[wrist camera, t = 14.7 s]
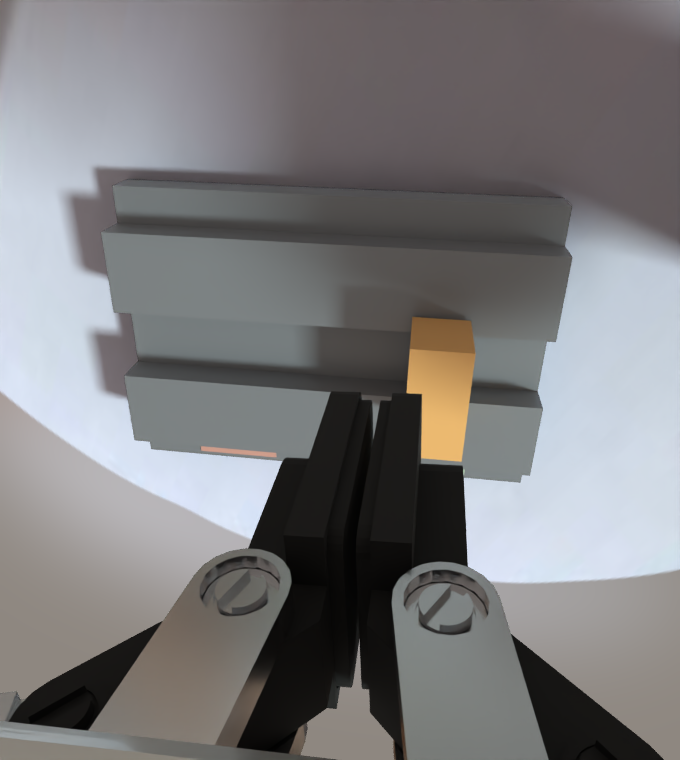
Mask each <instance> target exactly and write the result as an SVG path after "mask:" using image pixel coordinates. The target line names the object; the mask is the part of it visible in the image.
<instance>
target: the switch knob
mask: <svg viewBox="0 0 680 760" xmlns="http://www.w3.org/2000/svg"><path fill="white" fill-rule="evenodd" d="M475 355H476V353H475V346H474V339H473V332H472V324H471V321H468V320H452V319H437V318H421V317H412V328H411V341H410V354H409V367H408V380H407V393H410V394H422V434H421V458H425V459H436V460H447V461H459V462H462V455H463V447H464V439H465V432H466V424H467V416H468V409H469V401H470V393H471V386H472V378H473V370H474V363H475Z"/></svg>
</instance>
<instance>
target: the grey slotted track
mask: <svg viewBox="0 0 680 760" xmlns="http://www.w3.org/2000/svg"><path fill="white" fill-rule="evenodd" d="M112 188H113V195H114V202H115V208H116V215H117V222H118V223H117V224H115V225H113V226H112V227H110V228H108V229H106V230H104V231H102V232H101V236H102V242H103V248H104V255H105V261H106V267H107V273H108V279H109V285H110V292H111V298H112V304H113V310H114V312H115V313H129V314H131V316H132V323H133V330H134V336H135V343H136V350H137V357H138V362H137V363H136V364H135V365H134V366H133V367H132V368H131V369H130V370H129V371H128V373H127V374H126V375H125V376H124V378H125V384H126V390H127V397H128V403H129V409H130V415H131V421H132V427H133V434H134V440H138V441H149V442H150V444H151V449H156V450H167V451H178V452H189V453H200V454H211V455H222V456H233V457H244V458H255V459H266V460H277V461H283V460H284V459H285V458H287V457H289V458H309V456H310V453H311V450H312V447H313V444H314V441H315V438H316V435H317V432H318V429H319V426H320V423H321V420H322V417H323V414H324V411H325V408H326V405H327V402H328V399H329V396H330V393H331V391H342V392H361V395H362V400H372V404H373V439H374V434H375V428H376V423H377V417H378V412H379V406H380V401H381V400H387V401H391V398H392V393H407V380H408V367H409V354H410V341H411V328H412V317H421V318H437V319H452V320H468V321H471V324H472V332H473V339H474V346H475V353H476V355H475V363H474V370H473V378H472V386H471V393H470V401H469V409H468V416H467V424H466V432H465V439H464V447H463V455H462V462H459V461H447V460H436V459H425V458H421V464H442V465H462V466H463V476H464V478H475V479H486V480H497V481H508V482H519V483H520V482H521V477H522V475H529V476H530V472H531V467H532V462H533V457H534V452H535V447H536V441H537V436H538V431H539V426H540V421H541V416H542V411H543V408H542V404H541V401H540V398H539V395H538V386H539V381H540V375H541V370H542V365H543V359H544V354H545V349H546V343H547V342H556V339H557V334H558V328H559V323H560V318H561V313H562V308H563V303H564V298H565V292H566V287H567V282H568V277H569V272H570V267H571V262H572V256H571V255H570V253H569V252H568V250H567V249H566V247H565V242H566V236H567V231H568V226H569V220H570V215H571V210H572V206H571V205H570V203H569V202H568V201H567V200H566V199H565V198H552V197H529V196H505V195H482V194H459V193H436V192H413V191H389V190H366V189H343V188H320V187H297V186H274V185H250V184H227V183H204V182H181V181H158V180H134V179H127V180H125V181H123V182H120V183H118V184H116V185H113V186H112Z"/></svg>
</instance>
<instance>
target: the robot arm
mask: <svg viewBox="0 0 680 760" xmlns="http://www.w3.org/2000/svg"><path fill="white" fill-rule="evenodd" d="M421 434H422V394H410V393H392V398H391V401H387V400H381V401H380V406H379V412H378V417H377V423H376V428H375V434H374V439H373V404H372V400H362V395H361V392H342V391H331V393H330V396H329V399H328V402H327V405H326V408H325V411H324V414H323V417H322V420H321V423H320V426H319V429H318V432H317V435H316V438H315V441H314V444H313V447H312V450H311V453H310V456H309V458H289V457H287V458H285V459H284V460H283V462H282V464H281V466H280V469H279V472H278V474H277V477H276V479H275V482H274V484H273V487H272V489H271V492H270V494H269V497H268V499H267V502H266V505H265V507H264V510H263V512H262V515H261V517H260V520H259V522H258V525H257V527H256V530H255V533H254V535H253V538H252V540H251V543H250V546H249V548H248V549H247V548H246V549H240V550H233V551H229V552H226V553H224V554H221V555H219V556H216V557H215V558H213V559H212V560H210V561H209V562H207V563H205V564H204V565H203V566H202V567H201V568H200V569H199V570H198V572H197V573H196V574H195V575H194V576H193V578H192V579H191V581H190V582H189V584H188V585H187V586H186V588H185V589H184V591H183V592H182V594H181V595H180V597H179V598H178V600H177V601H176V603H175V604H174V606H173V607H172V609H171V610H170V611H169V613H168V614H167V616H166V617H165V619H164V620H163V621H162V622H160V623H158V624H156V625H154V626H152V627H150V628H148V629H147V630H144V631H143V632H141V633H139V634H137V635H135V636H133V637H131V638H129V639H128V640H126V641H124V642H122V643H120V644H118V645H117V646H115V647H113V648H111V649H109V650H107V651H105V652H103V653H101V654H100V655H98V656H96V657H94V658H92V659H90V660H88V661H86V662H84V663H82V664H81V665H79V666H77V667H75V668H73V669H71V670H69V671H67V672H66V673H64V674H62V675H60V676H58V677H56V678H54V679H52V680H50V681H49V682H47V683H46V684H44V685H43V686H41V687H40V688H38V689H37V690H35V691H34V692H33V693H32V694H31V695H29V696H28V697H27V698H26V699H20V698H19V695H18V693H17V691H15V692H6V693H0V760H335V759H326V758H318V757H310V756H302V755H301V752H302V749H303V746H304V743H305V740H306V735H307V730H308V727H307V722H308V721H309V720H311V719H312V718H314V717H315V716H316V715H318V714H319V713H321V712H322V711H323V710H325V709H326V708H333V709H336V708H337V703H338V696H339V690H340V687H352V685H353V679H354V672H355V664H356V658H357V651H358V645H359V638H360V656H361V657H360V658H361V680H362V688H363V689H369V695H370V713H371V714H372V715H373V716H374V717H375V719H376V720H377V721H378V722H379V723H380V724H381V725H382V727H383V728H384V729H385V730H386V731H387V732H388V734H389V735H390V736H391V737H392V738H393V753H394V760H664V759H663V758H662V757H661V756H660V755H659V754H658V753H657V752H656V751H655V750H654V749H653V748H652V747H651V746H650V745H649V744H647V743H646V742H645V741H644V740H642V739H641V738H640V737H639V736H637V735H636V734H635V733H634V732H632V731H631V730H630V729H629V728H627V727H626V726H625V725H623V724H622V723H621V722H620V721H619V720H617V719H616V718H615V717H614V716H612V715H611V714H610V713H609V712H607V711H606V710H605V709H603V708H602V707H601V706H600V705H599V704H598V703H596V702H595V701H594V700H593V699H591V698H590V697H589V696H587V695H586V694H585V693H584V692H583V691H581V690H580V689H579V688H578V687H576V686H575V685H574V684H572V683H571V682H570V681H569V680H568V679H566V678H565V677H564V676H563V675H561V674H560V673H559V672H557V671H556V670H555V669H554V668H553V667H551V666H550V665H549V664H548V663H546V662H545V661H544V660H543V659H541V658H540V657H539V656H538V655H537V654H535V653H534V652H533V651H532V650H530V649H529V648H527V646H525V645H524V644H523V643H522V642H520V641H519V640H518V639H516V638H515V637H514V636H513V635H512V634H511V633H510V630H509V627H508V623H507V620H506V616H505V613H504V610H503V606H502V603H501V600H500V597H499V595H498V593H497V591H496V589H495V587H494V586H493V585H492V584H491V583H490V582H489V581H488V580H487V579H486V578H485V577H484V576H483V575H482V574H480V573H478V572H477V571H475V570H473V569H471V568H470V567H468V563H467V541H466V520H465V498H464V476H463V466H462V465H442V464H421Z"/></svg>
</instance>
